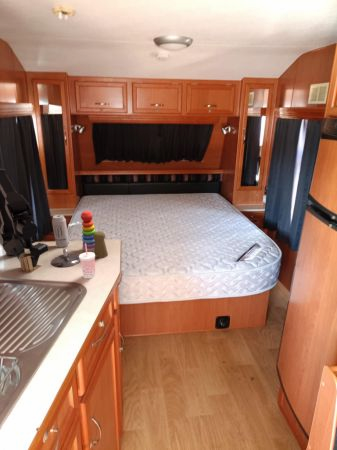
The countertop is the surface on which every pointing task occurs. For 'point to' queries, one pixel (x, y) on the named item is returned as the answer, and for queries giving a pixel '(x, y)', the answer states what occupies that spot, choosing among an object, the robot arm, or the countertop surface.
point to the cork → (100, 245)
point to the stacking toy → (88, 231)
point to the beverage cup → (88, 263)
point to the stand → (29, 271)
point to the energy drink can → (60, 231)
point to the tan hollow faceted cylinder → (26, 262)
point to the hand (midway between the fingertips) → (29, 265)
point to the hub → (65, 260)
